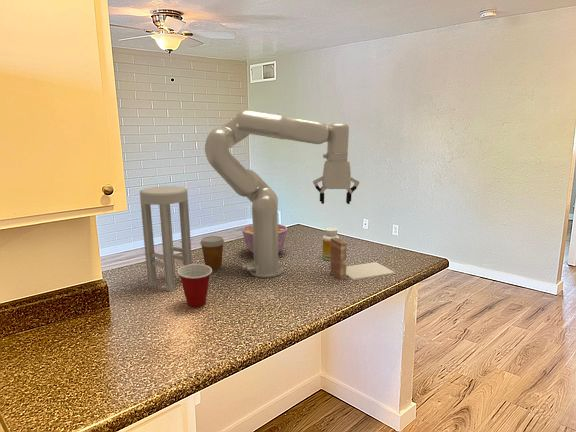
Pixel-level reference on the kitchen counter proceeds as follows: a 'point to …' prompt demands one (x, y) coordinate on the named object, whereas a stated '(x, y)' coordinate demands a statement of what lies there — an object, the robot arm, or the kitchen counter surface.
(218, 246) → the disposable coffee cup
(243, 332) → the kitchen counter surface
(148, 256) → the stool
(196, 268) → the plastic cup
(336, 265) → the slab
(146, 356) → the kitchen counter surface
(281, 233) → the bowl of food
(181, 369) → the kitchen counter surface
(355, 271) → the mat
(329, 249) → the supplement bottle
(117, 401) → the kitchen counter surface
